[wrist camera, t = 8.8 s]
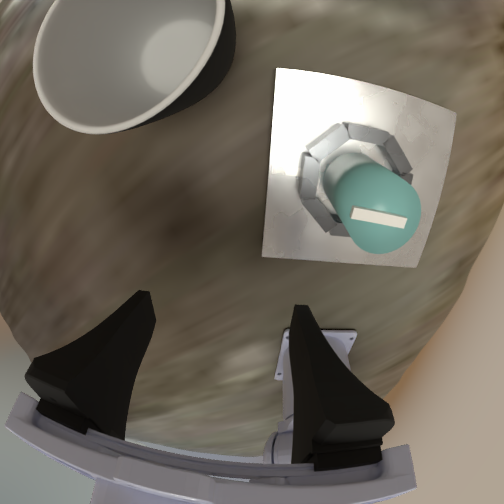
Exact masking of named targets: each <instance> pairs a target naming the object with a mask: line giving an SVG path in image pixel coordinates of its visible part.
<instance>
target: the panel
mask: <svg viewBox="0 0 504 504" xmlns="http://www.w3.org/2000/svg"><path fill="white" fill-rule="evenodd" d="M456 114H457V113H455V112H453V111H450V110H448V109H446V108H443V107H441V106H438V105H436V104H433V103H431V102H428V101H425V100H422V99H420V98H417V97H414V96H411V95H408V94H405V93H402V92H399V91H395V90H392V89H389V88H385V87H381V86H378V85H374V84H370V83H366V82H362V81H358V80H353V79H348V78H344V77H338V76H333V75H328V74H322V73H315V72H308V71H301V70H292V69H283V68H277V69H276V78H275V92H274V106H273V120H272V133H271V147H270V160H269V172H268V185H267V197H266V209H265V221H264V233H263V245H262V257H273V258H287V259H300V260H314V261H328V262H342V263H356V264H370V265H385V266H399V267H414V268H416V267H417V264H418V262H419V259H420V257H421V254H422V251H423V249H424V246H425V243H426V240H427V237H428V234H429V231H430V228H431V225H432V222H433V219H434V216H435V213H436V209H437V206H438V202H439V199H440V195H441V191H442V188H443V184H444V180H445V175H446V171H447V167H448V162H449V157H450V152H451V147H452V141H453V135H454V129H455V122H456ZM352 152H354V153H361V154H364V155H366V156H368V157H370V158H371V159H373V160H374V161H376V162H378V163H379V164H381V165H382V166H384V167H386V168H387V169H389V170H390V171H392V172H393V173H395V174H396V175H398V176H399V177H401V178H402V179H404V180H405V181H406V182H408V183H409V184H410V185H411V186H412V187H413V188H414V189H415V190H416V192H417V194H418V196H419V199H420V203H421V217H420V222H419V225H418V227H417V229H416V231H415V233H414V234H413V236H412V237H411V238H410V239H409V241H408V242H406V243H405V244H404V245H403V246H402V247H400V248H398V249H397V250H394V251H392V252H389V253H385V254H373V253H369V252H366V251H364V250H362V249H361V248H359V247H358V246H357V245H356V244H355V243H354V241H353V240H352V238H351V237H350V235H349V233H348V231H347V230H346V228H345V226H344V224H343V223H342V221H341V219H340V218H339V216H338V214H337V213H336V211H335V209H334V208H333V206H332V204H331V203H330V201H329V200H328V198H327V196H326V194H325V191H324V176H325V172H326V170H327V168H328V167H329V165H330V164H331V163H332V162H333V161H334V160H335V159H336V158H337V157H339V156H341V155H343V154H346V153H352Z"/></svg>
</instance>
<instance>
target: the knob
mask: <svg viewBox="0 0 504 504" xmlns="http://www.w3.org/2000/svg"><path fill="white" fill-rule="evenodd" d="M324 191H325V194H326V196H327V198H328V200H329V201H330V203H331V204H332V206H333V208H334V209H335V211H336V213H337V214H338V216H339V218H340V219H341V221H342V223H343V224H344V226H345V228H346V230H347V231H348V233H349V235H350V237H351V238H352V240H353V241H354V243H355V244H356V245H357V246H358V247H359V248H361V249H362V250H364V251H366V252H369V253H373V254H385V253H389V252H392V251H394V250H397V249H398V248H400V247H402V246H403V245H404V244H405V243H406V242H408V241H409V239H410V238H411V237H412V236H413V234H414V233H415V231H416V229H417V227H418V225H419V222H420V217H421V203H420V199H419V196H418V194H417V192H416V190H415V189H414V188H413V187H412V186H411V185H410V184H409V183H408V182H406V181H405V180H404V179H402V178H401V177H399V176H398V175H396V174H395V173H393V172H392V171H390V170H389V169H387V168H386V167H384V166H382V165H381V164H379V163H378V162H376V161H374V160H373V159H371V158H370V157H368V156H366V155H364V154H361V153H354V152H352V153H346V154H343V155H341V156H339V157H337V158H336V159H335V160H334V161H333V162H332V163H331V164H330V165H329V167H328V168H327V170H326V172H325V176H324Z"/></svg>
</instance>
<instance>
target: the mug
mask: <svg viewBox="0 0 504 504" xmlns="http://www.w3.org/2000/svg"><path fill="white" fill-rule="evenodd" d="M235 45H236V31H235V21H234V15H233V10H232V6H231V2H230V0H55V1H54V3H53V4H52V6H51V8H50V9H49V11H48V13H47V15H46V16H45V19H44V21H43V23H42V25H41V28H40V30H39V33H38V36H37V40H36V44H35V49H34V56H33V75H34V82H35V86H36V89H37V92H38V95H39V97H40V100H41V102H42V104H43V105H44V107H45V108H46V110H47V111H48V112H49V114H50V115H51V116H52V117H53V118H54V119H55V120H57V121H58V122H59V123H61V124H62V125H64V126H65V127H67V128H70V129H72V130H74V131H78V132H81V133H87V134H110V133H117V132H121V131H126V130H130V129H134V128H137V127H140V126H143V125H146V124H149V123H152V122H155V121H158V120H160V119H163V118H165V117H168V116H170V115H173V114H175V113H177V112H179V111H181V110H183V109H185V108H188V107H190V106H191V105H193V104H195V103H197V102H198V101H200V100H201V99H203V98H204V97H206V96H207V95H208V94H209V93H211V92H212V91H213V90H214V89H215V88H216V87H217V86H218V85H219V84H220V83H221V81H222V80H223V79H224V77H225V76H226V74H227V72H228V70H229V68H230V66H231V63H232V60H233V57H234V52H235Z"/></svg>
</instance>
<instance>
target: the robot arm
mask: <svg viewBox="0 0 504 504" xmlns="http://www.w3.org/2000/svg"><path fill="white" fill-rule="evenodd" d="M155 323H156V317H155V313H154V309H153V305H152V300H151V296H150V292H149V291H141V290H139V291H137V292H136V293H135V294H134V295H133V296H132V297H131V298H129V299H128V300H127V301H126V302H125V303H124V304H123V305H122V306H121V307H119V308H118V309H117V310H116V311H115V312H114V313H113V314H111V315H110V316H109V317H108V318H106V319H105V320H104V321H103V322H101V323H100V324H99V325H98V326H96V327H95V328H94V329H92V330H91V331H89V332H88V333H86V334H85V335H83V336H82V337H80V338H78V339H77V340H75V341H73V342H71V343H70V344H68V345H66V346H64V347H62V348H60V349H57V350H55V351H53V352H50V353H48V354H45V355H42V356H39V357H36V358H34V360H33V362H32V363H31V365H30V367H29V369H28V370H27V372H26V374H25V379H26V381H27V383H28V384H29V385H30V387H31V388H32V389H33V390H34V391H35V392H36V393H37V394H38V396H39V397H40V398H41V399H40V401H39V402H38V401H37V400H35V399H34V398H32V397H30V396H28V395H27V394H25V393H23V392H20V394H19V396H18V398H17V400H16V402H15V404H14V406H13V408H12V410H11V412H10V414H9V417H8V419H7V421H6V423H5V427H6V428H7V429H8V430H10V431H11V432H12V433H14V434H15V435H16V436H17V437H19V438H20V439H21V440H23V441H24V442H25V443H27V444H28V445H30V446H31V447H33V448H34V449H36V450H38V451H39V452H41V453H43V454H44V455H46V456H48V457H50V458H51V459H53V460H55V461H57V462H58V463H60V464H62V465H64V466H66V467H68V468H70V469H72V470H74V471H76V472H78V473H80V474H82V475H84V476H87V477H89V478H91V479H93V480H95V481H96V482H95V486H94V490H93V493H92V498H91V501H90V504H372V503H376V502H380V501H384V500H388V499H391V498H394V497H397V496H399V495H402V494H405V493H407V492H410V491H412V490H415V489H416V488H417V485H416V479H415V473H414V468H413V463H412V457H411V452H410V448H409V445H408V444H406V445H401V446H397V447H393V448H389V449H385V450H383V451H381V447H380V446H381V445H382V444H383V441H382V437H383V436H384V435H385V434H386V433H387V432H388V431H390V430H391V429H392V427H393V426H394V424H395V421H394V417H393V414H392V410H391V408H390V406H389V404H388V403H387V402H385V401H384V400H383V399H381V398H380V397H378V396H377V395H376V394H374V393H373V392H372V391H371V390H370V389H368V388H367V387H366V386H365V385H364V384H363V383H362V382H361V381H360V380H359V379H358V378H357V377H356V376H355V375H354V374H353V373H352V372H351V369H350V364H349V360H348V354H349V351H350V349H351V347H352V345H353V343H354V341H355V339H356V337H357V332H356V331H354V330H321V329H320V328H319V326H318V324H317V322H316V320H315V318H314V317H313V315H312V312H311V310H310V308H309V307H308V305H295V306H294V311H293V316H292V321H291V325H290V329H286V330H285V331H284V334H283V339H282V344H281V349H280V353H279V358H278V362H277V367H276V371H275V376H274V378H275V379H276V380H283V419H284V421H281V422H278V431H276V432H274V433H272V434H271V435H270V437H269V438H268V440H267V442H266V444H265V447H264V452H263V463H264V464H258V463H240V462H229V461H219V460H211V459H204V458H197V457H191V456H186V455H180V454H175V453H170V452H166V451H161V450H157V449H153V448H149V447H145V446H141V445H138V444H134V443H131V442H127V441H125V430H126V421H127V415H128V409H129V403H130V399H131V394H132V390H133V386H134V382H135V378H136V375H137V372H138V369H139V367H140V364H141V362H142V359H143V357H144V355H145V352H146V350H147V347H148V345H149V342H150V340H151V337H152V334H153V331H154V327H155ZM287 336H289V337H287ZM351 337H352V338H351ZM208 475H213V476H221V477H230V478H243V479H251V480H250V481H249V482H242V481H234V480H227V479H221V478H215V477H210V476H208Z"/></svg>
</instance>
